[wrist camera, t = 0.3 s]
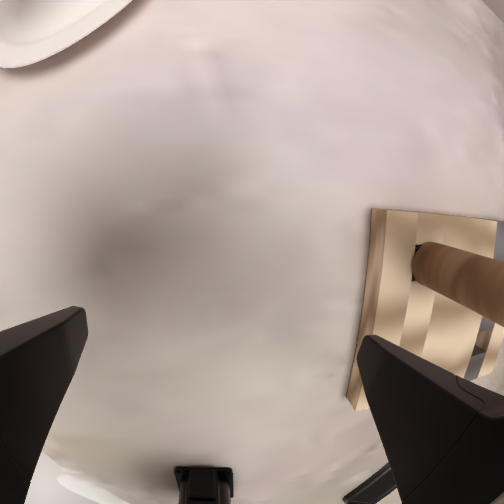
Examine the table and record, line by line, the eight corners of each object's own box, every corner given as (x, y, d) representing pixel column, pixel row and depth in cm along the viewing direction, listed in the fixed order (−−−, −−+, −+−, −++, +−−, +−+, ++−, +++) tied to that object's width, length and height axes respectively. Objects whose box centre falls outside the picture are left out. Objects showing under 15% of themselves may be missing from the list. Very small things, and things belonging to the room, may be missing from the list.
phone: (341, 502, 30) (422, 437, 28) (339, 497, 31) (418, 432, 29) (371, 506, 31) (443, 447, 30) (369, 502, 32) (440, 442, 31)
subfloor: (480, 363, 28) (491, 372, 26) (346, 396, 26) (355, 411, 24) (509, 222, 25) (524, 225, 22) (371, 208, 23) (386, 210, 20)
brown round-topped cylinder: (423, 276, 25) (538, 332, 11) (392, 277, 24) (511, 343, 10) (428, 237, 24) (552, 273, 10) (397, 236, 24) (527, 276, 10)
